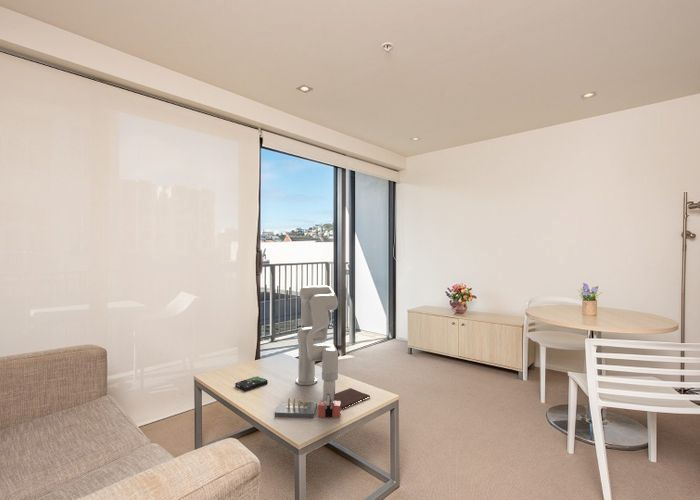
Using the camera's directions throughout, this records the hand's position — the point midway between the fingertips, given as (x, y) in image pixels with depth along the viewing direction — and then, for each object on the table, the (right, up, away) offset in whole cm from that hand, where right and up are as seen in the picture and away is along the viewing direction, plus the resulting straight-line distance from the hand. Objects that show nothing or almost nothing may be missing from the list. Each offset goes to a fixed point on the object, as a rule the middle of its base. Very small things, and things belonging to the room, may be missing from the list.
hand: (329, 413), depth 164 cm
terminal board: (-16, 0, +3) cm, 16 cm away
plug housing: (0, -1, 0) cm, 1 cm away
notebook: (+8, -1, +18) cm, 19 cm away
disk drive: (-46, -1, +35) cm, 58 cm away
